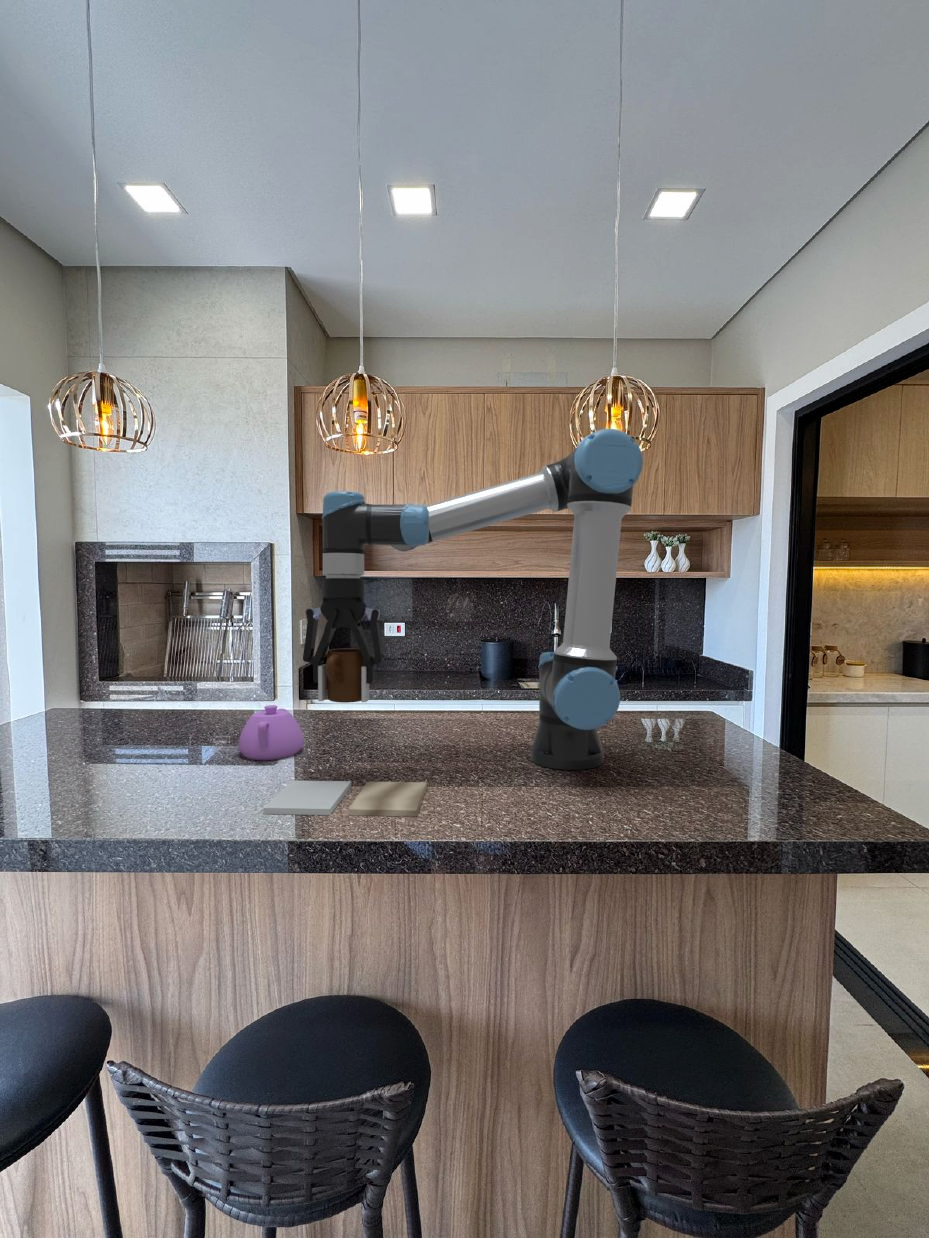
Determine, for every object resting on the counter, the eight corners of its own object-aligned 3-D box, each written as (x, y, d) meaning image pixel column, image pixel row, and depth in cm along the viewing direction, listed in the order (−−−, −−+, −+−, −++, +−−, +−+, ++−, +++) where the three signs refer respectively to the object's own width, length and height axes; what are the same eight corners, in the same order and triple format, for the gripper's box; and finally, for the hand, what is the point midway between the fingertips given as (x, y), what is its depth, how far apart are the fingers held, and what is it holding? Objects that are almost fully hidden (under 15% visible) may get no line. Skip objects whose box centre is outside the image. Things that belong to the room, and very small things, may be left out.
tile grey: (351, 786, 112) (351, 781, 112) (330, 815, 98) (329, 808, 98) (292, 785, 113) (292, 780, 113) (263, 813, 99) (263, 807, 99)
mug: (348, 708, 107) (348, 655, 106) (308, 706, 109) (308, 654, 108) (373, 696, 119) (373, 648, 118) (337, 695, 120) (337, 647, 120)
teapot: (312, 740, 147) (311, 696, 146) (294, 764, 127) (293, 713, 126) (253, 741, 146) (252, 697, 145) (227, 766, 126) (225, 715, 126)
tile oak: (426, 787, 111) (426, 782, 111) (416, 816, 97) (416, 810, 97) (367, 786, 112) (367, 781, 112) (348, 815, 98) (348, 809, 98)
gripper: (401, 578, 115) (401, 697, 116) (297, 577, 117) (298, 695, 118) (393, 577, 108) (393, 705, 109) (282, 576, 109) (283, 702, 111)
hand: (343, 700), depth 113 cm, fingers closed on mug, 7 cm apart
